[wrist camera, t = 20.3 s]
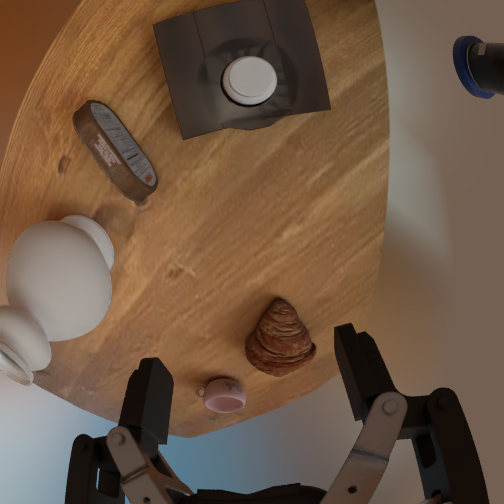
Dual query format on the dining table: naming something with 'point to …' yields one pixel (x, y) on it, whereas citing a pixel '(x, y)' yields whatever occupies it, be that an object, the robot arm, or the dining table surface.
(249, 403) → the dining table surface
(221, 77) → the base pad
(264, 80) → the pill bottle
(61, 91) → the dining table surface
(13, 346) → the decorative vase
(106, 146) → the tin
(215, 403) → the mug
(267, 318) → the pastry
